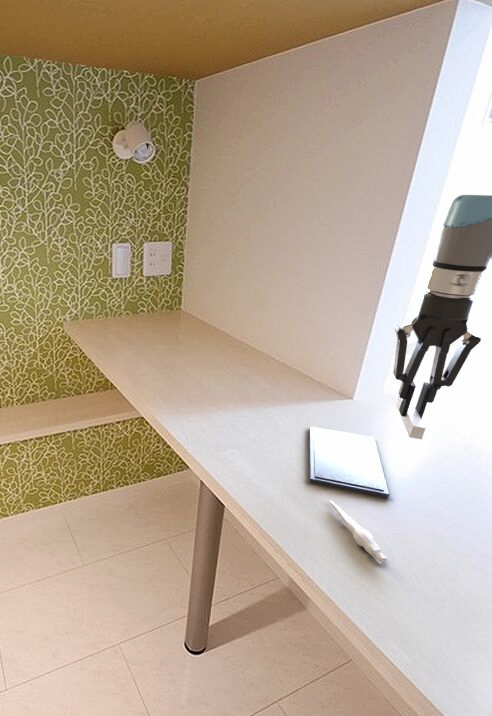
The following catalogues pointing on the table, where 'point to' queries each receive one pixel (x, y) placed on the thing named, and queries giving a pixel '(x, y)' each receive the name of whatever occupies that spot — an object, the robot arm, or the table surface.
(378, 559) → the white tapered piece
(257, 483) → the table surface
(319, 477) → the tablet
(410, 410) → the white rectangular bar
